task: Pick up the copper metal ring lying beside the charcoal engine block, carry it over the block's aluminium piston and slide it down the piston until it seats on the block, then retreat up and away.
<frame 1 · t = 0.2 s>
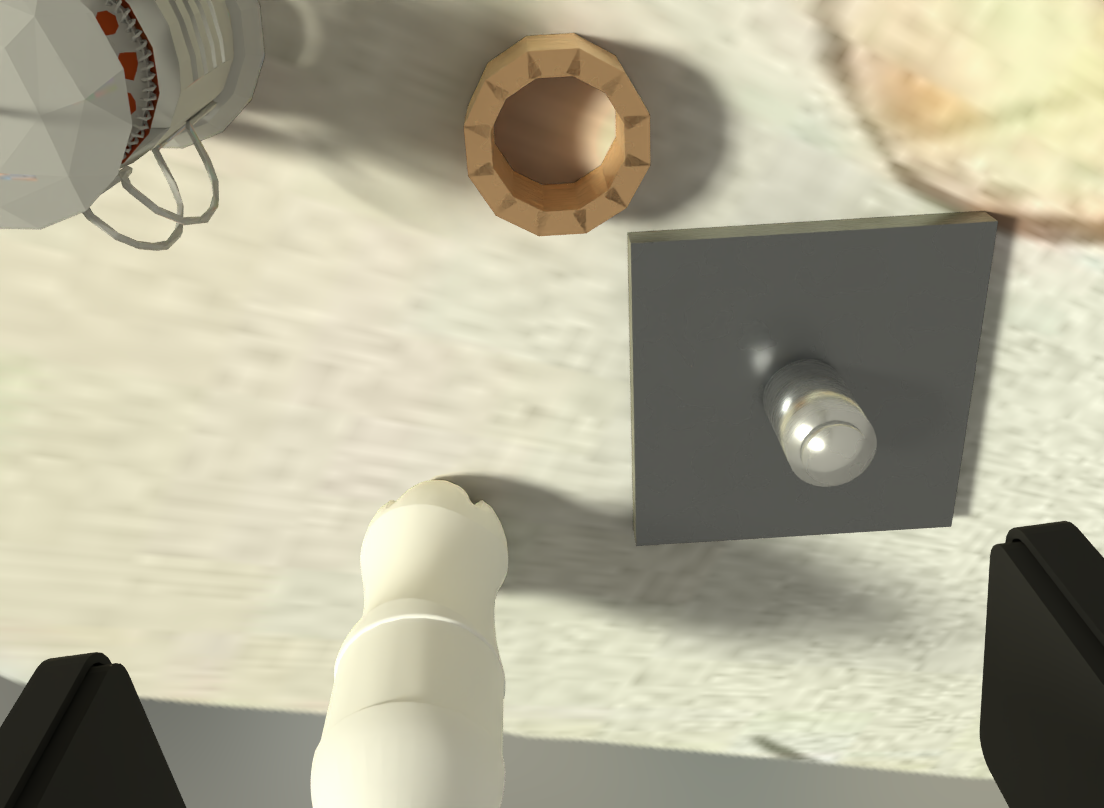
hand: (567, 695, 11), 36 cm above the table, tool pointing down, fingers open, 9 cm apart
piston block: (795, 381, 50), on the table
copper ring: (554, 123, 44), on the table
french press: (158, 46, 42), on the table
water bottle: (439, 522, 53), on the table
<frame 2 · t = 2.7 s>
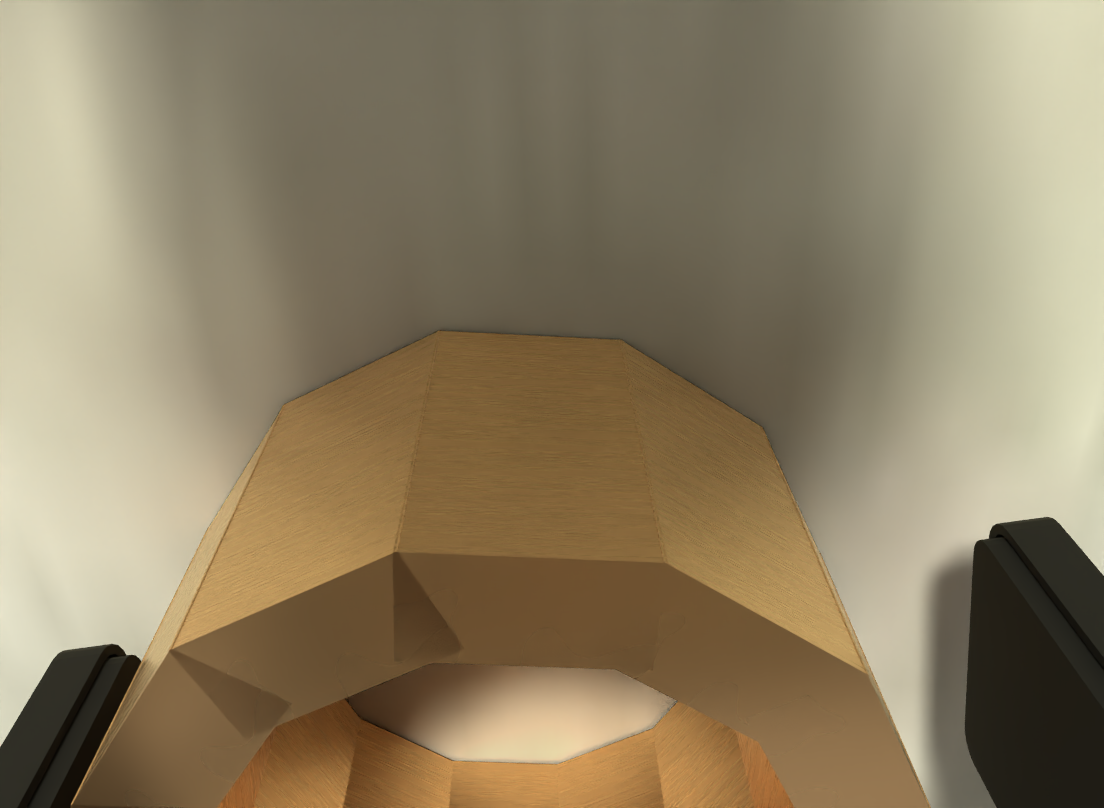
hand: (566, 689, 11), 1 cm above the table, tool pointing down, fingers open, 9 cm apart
copper ring: (514, 606, 12), on the table, touching gripper
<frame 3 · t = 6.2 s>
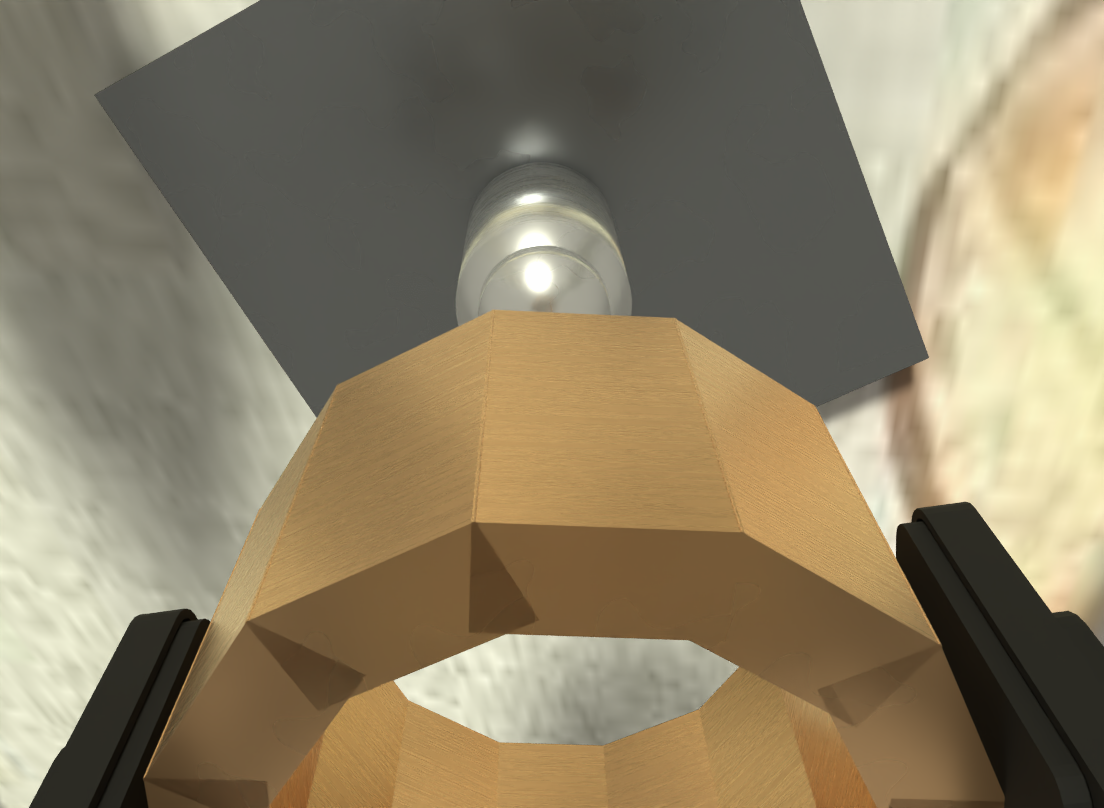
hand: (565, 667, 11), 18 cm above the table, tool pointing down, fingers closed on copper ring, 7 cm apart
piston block: (540, 218, 28), on the table
copper ring: (563, 587, 13), point 17 cm above the table, touching gripper
when the fingers open (4 cm above the table, at t = 9.1 s): copper ring drops 2 cm, resting on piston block.
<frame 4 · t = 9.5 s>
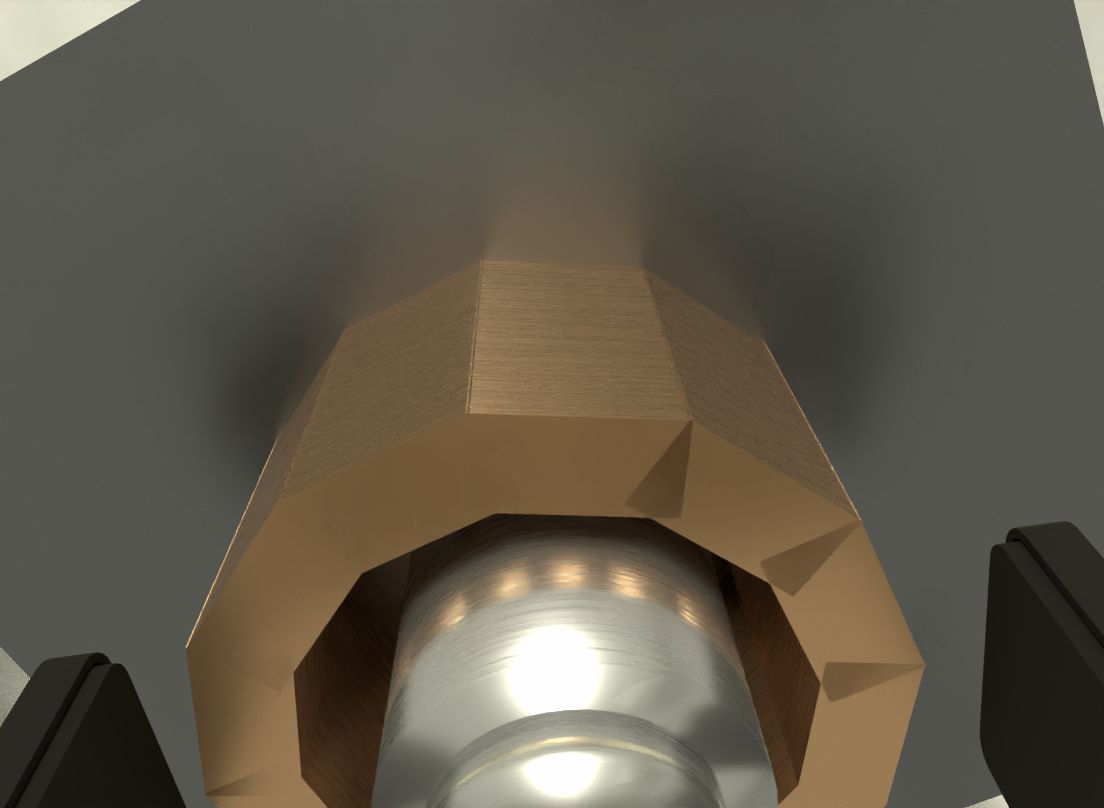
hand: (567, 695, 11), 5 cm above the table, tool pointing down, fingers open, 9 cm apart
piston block: (553, 469, 15), on the table
copper ring: (546, 515, 14), point 1 cm above the table, touching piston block
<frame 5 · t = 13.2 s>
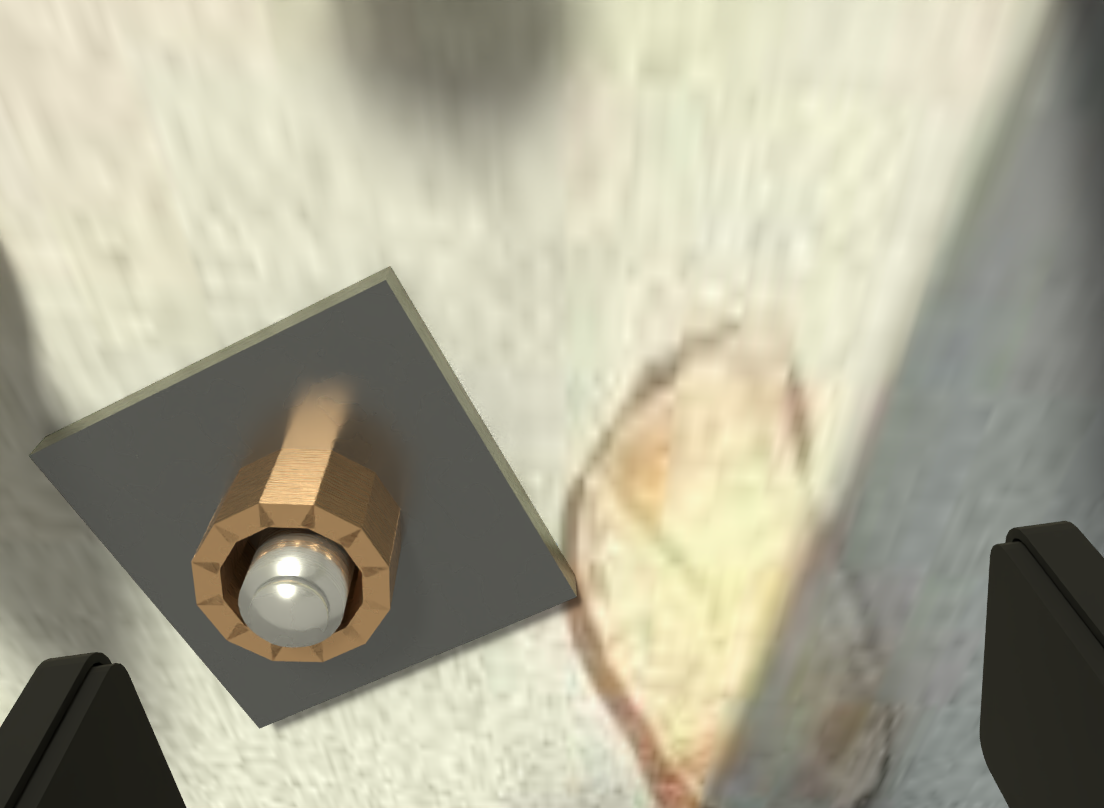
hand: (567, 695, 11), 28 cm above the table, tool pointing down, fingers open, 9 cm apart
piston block: (321, 509, 43), on the table
copper ring: (311, 526, 42), point 1 cm above the table, touching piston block
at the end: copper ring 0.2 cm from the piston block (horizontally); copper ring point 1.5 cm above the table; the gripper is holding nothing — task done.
